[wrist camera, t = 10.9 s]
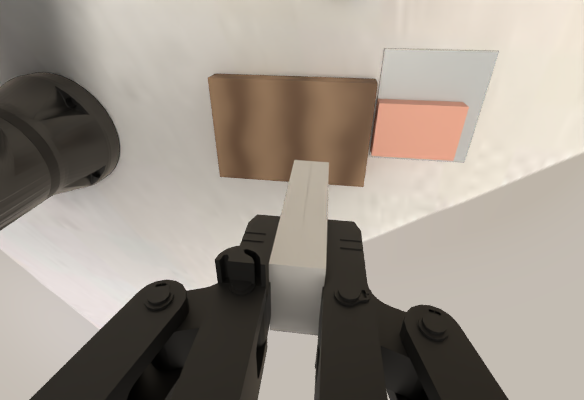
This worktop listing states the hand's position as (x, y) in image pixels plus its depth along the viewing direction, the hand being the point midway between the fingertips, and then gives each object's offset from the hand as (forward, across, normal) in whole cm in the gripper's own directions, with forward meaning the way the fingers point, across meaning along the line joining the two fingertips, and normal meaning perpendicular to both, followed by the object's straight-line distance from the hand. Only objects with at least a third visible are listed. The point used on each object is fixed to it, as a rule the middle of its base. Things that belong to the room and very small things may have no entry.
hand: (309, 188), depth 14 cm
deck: (+25, -3, -6) cm, 26 cm away
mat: (+24, +12, -3) cm, 27 cm away
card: (+24, +11, -5) cm, 27 cm away
